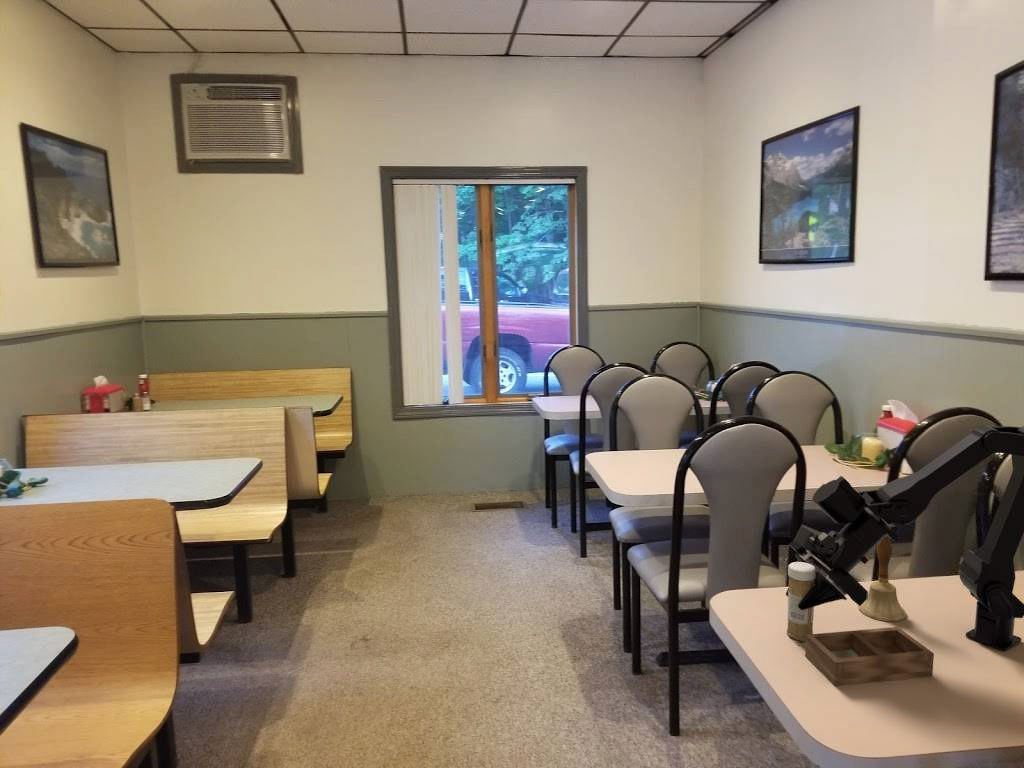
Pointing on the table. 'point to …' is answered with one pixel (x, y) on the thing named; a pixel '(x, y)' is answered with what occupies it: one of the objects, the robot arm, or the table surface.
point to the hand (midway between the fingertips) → (793, 602)
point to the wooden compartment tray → (868, 656)
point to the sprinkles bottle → (798, 588)
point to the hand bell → (883, 590)
